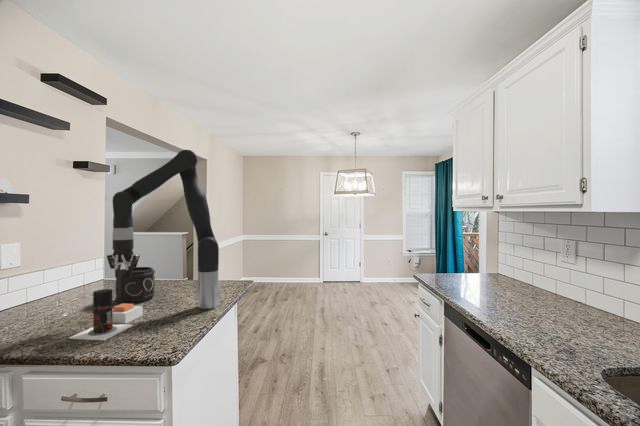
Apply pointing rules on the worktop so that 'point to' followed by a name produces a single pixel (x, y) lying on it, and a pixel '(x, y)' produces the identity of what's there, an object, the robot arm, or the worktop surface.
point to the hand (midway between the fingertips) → (123, 278)
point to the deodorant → (102, 311)
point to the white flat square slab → (91, 335)
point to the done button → (123, 307)
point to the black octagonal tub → (136, 286)
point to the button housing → (127, 315)
